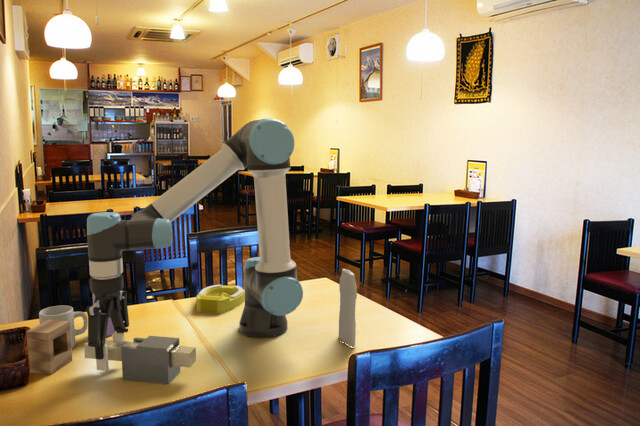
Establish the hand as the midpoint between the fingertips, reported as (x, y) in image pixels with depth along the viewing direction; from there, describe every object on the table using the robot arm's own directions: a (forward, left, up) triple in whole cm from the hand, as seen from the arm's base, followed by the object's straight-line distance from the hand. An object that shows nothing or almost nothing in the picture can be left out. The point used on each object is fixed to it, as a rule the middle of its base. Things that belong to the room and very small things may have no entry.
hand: (111, 363), depth 121 cm
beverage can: (+16, -22, -3) cm, 27 cm away
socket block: (+17, 0, -2) cm, 17 cm away
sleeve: (-11, 0, -2) cm, 11 cm away
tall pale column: (-57, -30, -3) cm, 64 cm away
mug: (+22, -12, -3) cm, 25 cm away
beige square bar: (-8, 0, +2) cm, 8 cm away
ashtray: (-8, -56, -3) cm, 56 cm away
